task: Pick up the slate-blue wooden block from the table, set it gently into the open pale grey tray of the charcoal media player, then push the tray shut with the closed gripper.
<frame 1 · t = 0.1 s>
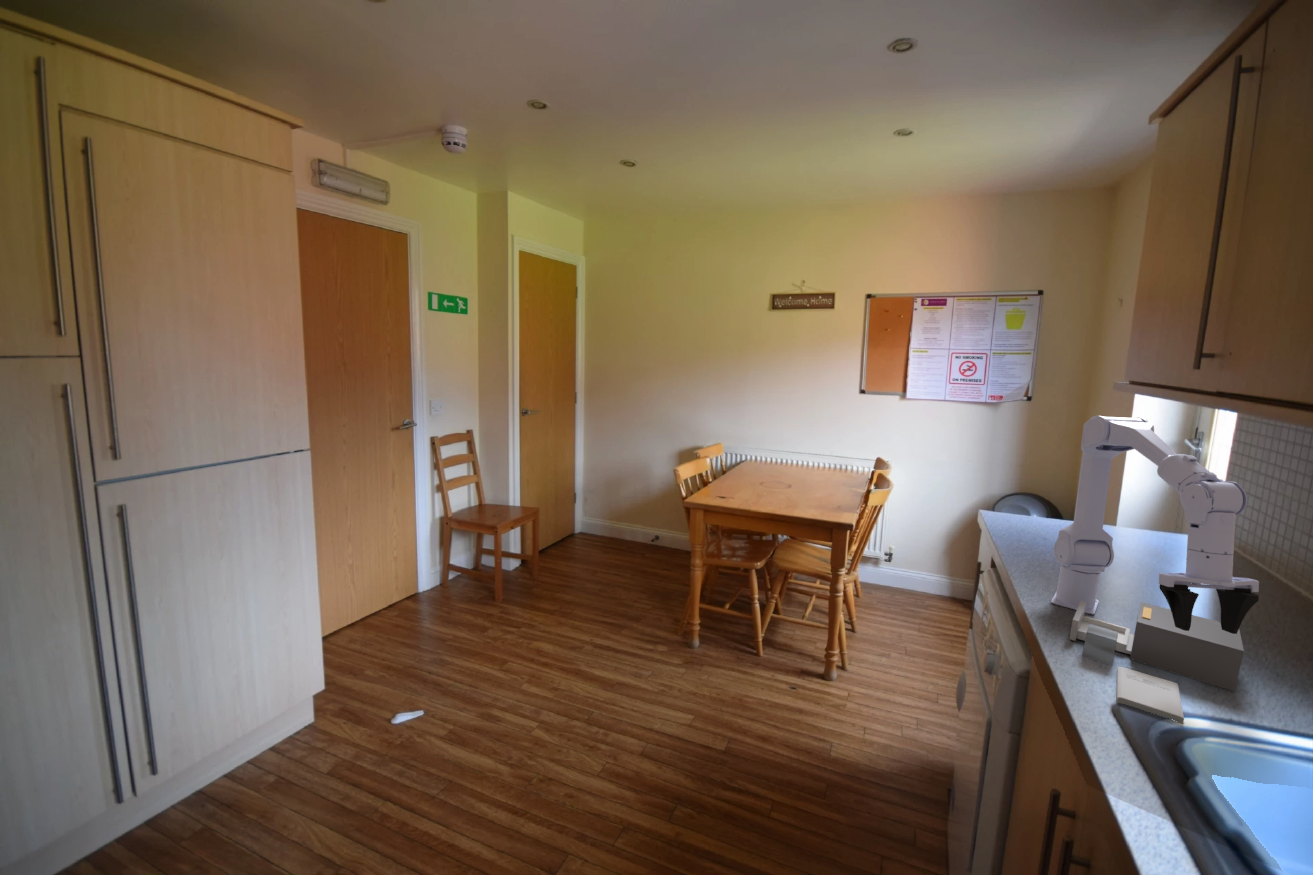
hand: (1205, 630, 97), 10 cm above the worktop, tool pointing down, fingers open, 7 cm apart
block: (1098, 656, 108), on the worktop
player: (1180, 661, 106), on the worktop
external hard drive: (1146, 698, 96), on the worktop
tray: (1117, 631, 112), point 2 cm above the worktop, slide at 8.0 cm
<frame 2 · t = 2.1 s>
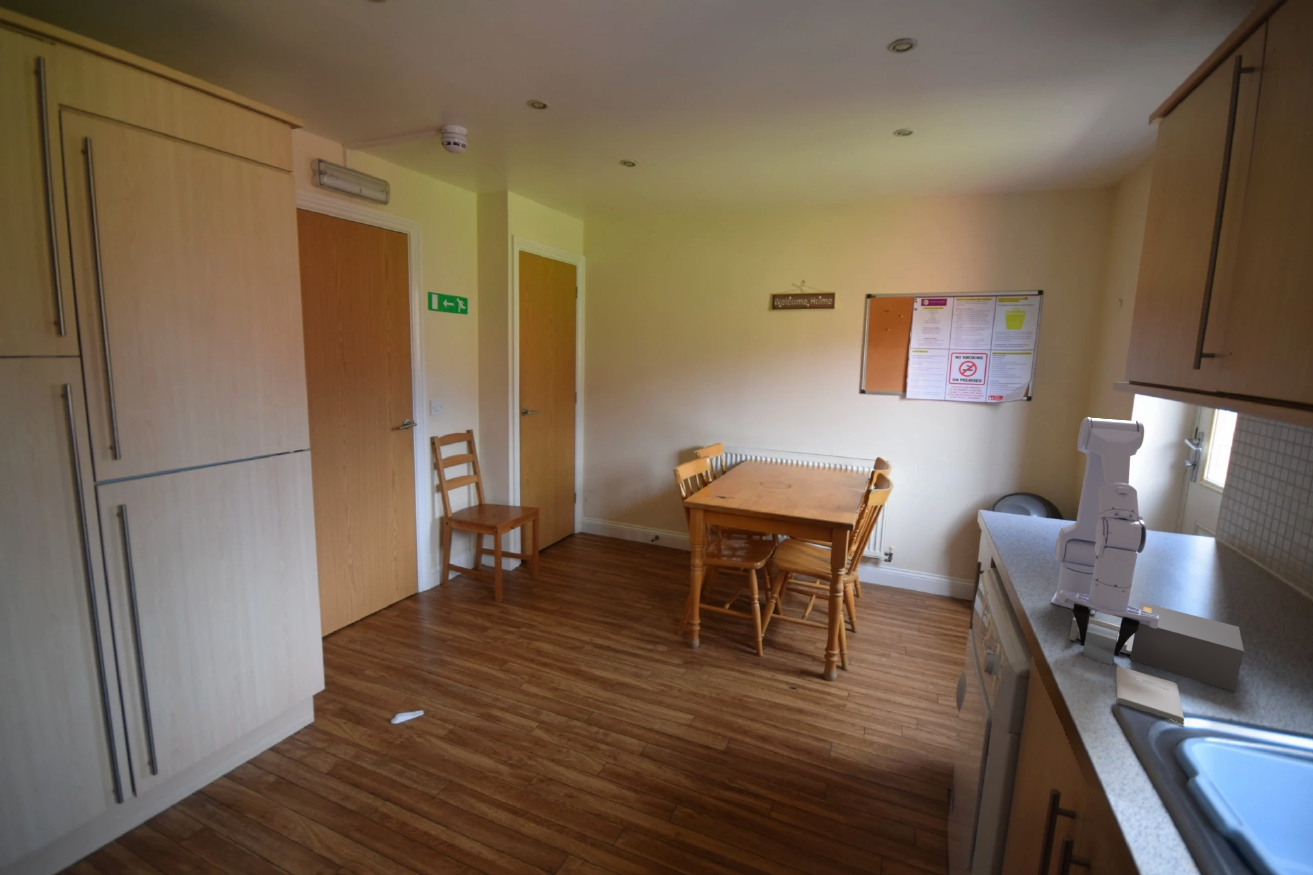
hand: (1099, 648, 107), 1 cm above the worktop, tool pointing down, fingers closed on block, 4 cm apart
block: (1098, 655, 108), on the worktop, touching gripper
everything else where it was.
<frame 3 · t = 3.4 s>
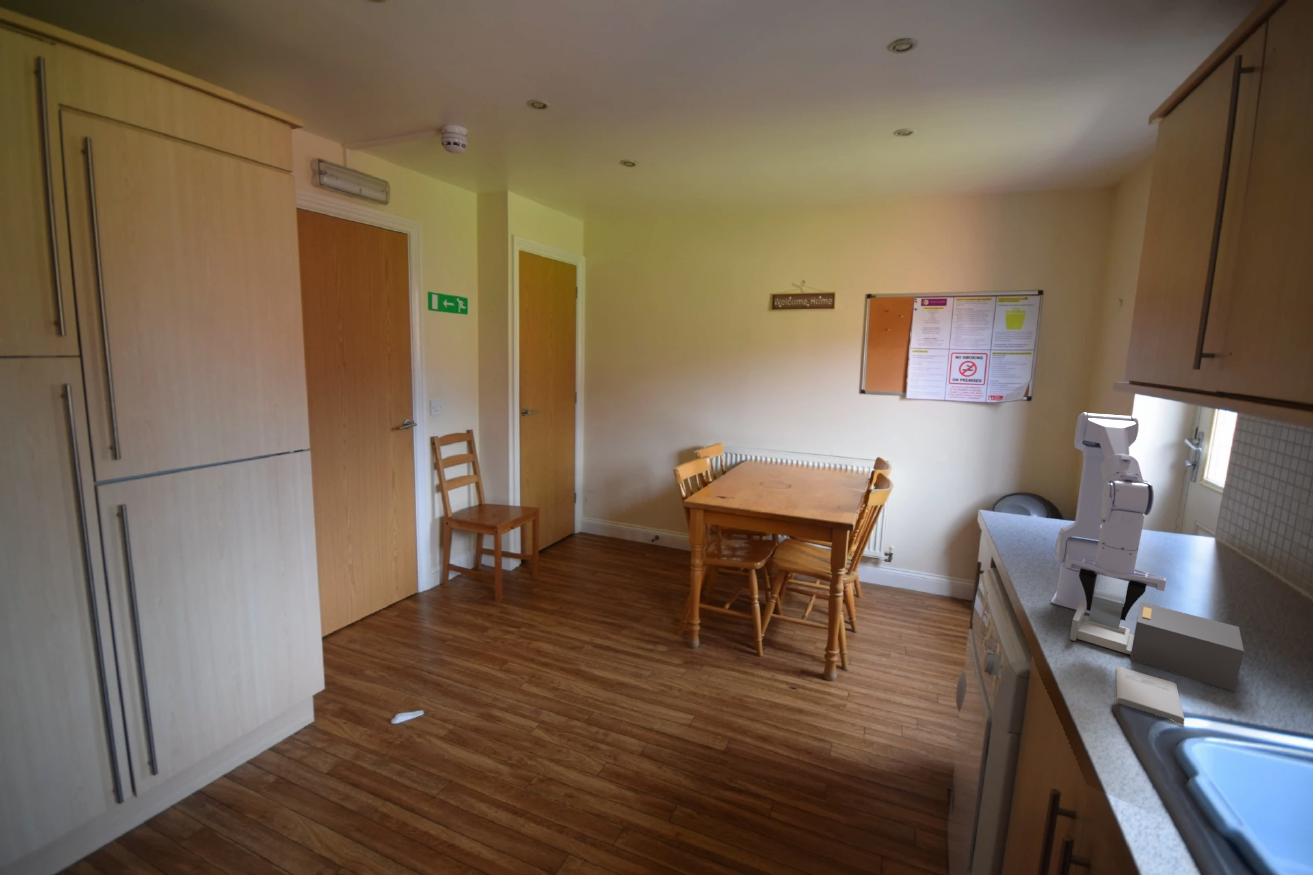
hand: (1105, 613, 107), 8 cm above the worktop, tool pointing down, fingers closed on block, 4 cm apart
block: (1104, 620, 107), point 7 cm above the worktop, touching gripper
everything else where it was.
when the fingers open (4 cm above the worktop, at t = 5.1 s): block drops 2 cm, resting on tray.
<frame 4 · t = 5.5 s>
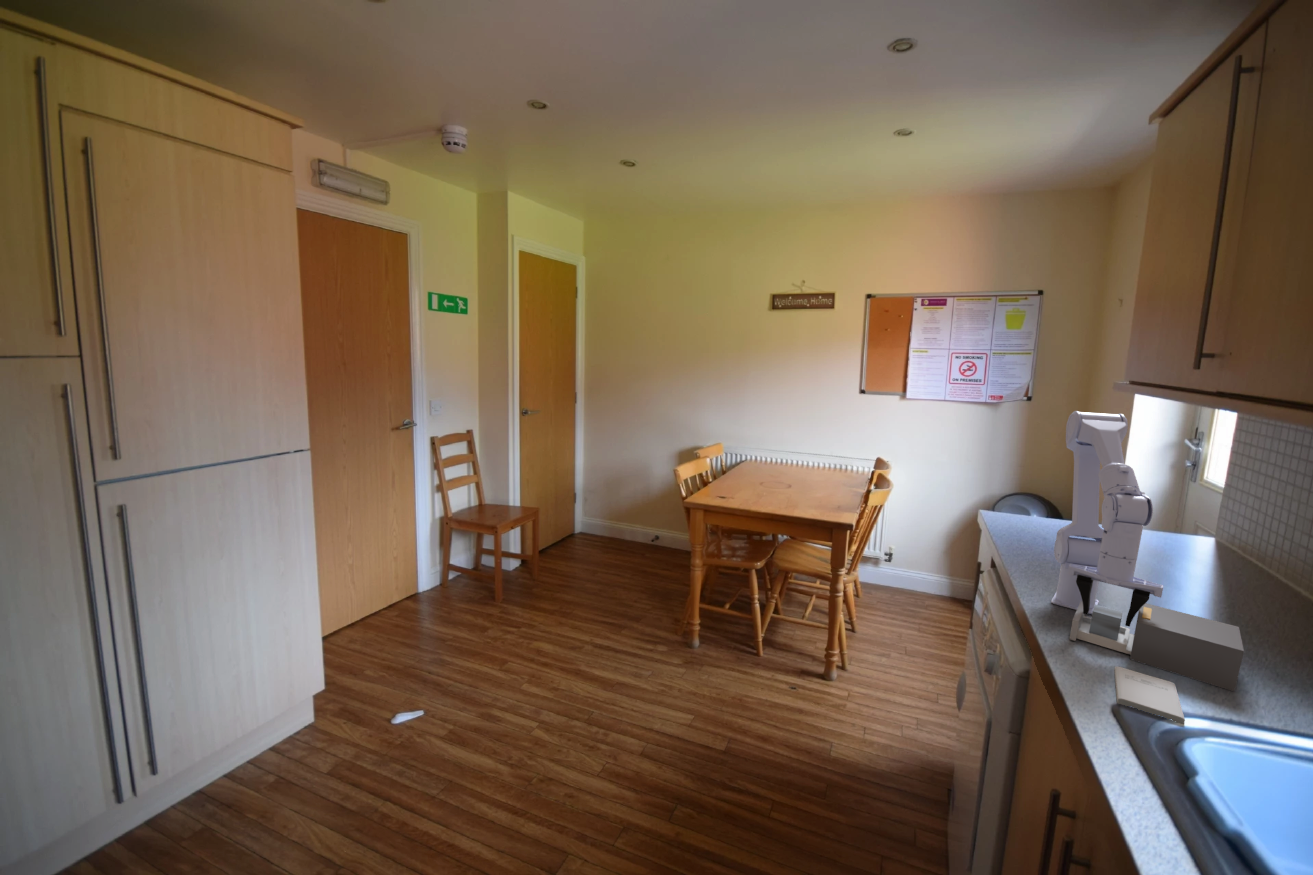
hand: (1106, 618, 113), 4 cm above the worktop, tool pointing down, fingers open, 6 cm apart
block: (1103, 634, 114), point 1 cm above the worktop, touching tray
tray: (1117, 631, 112), point 2 cm above the worktop, slide at 8.0 cm, touching block
everything else where it was.
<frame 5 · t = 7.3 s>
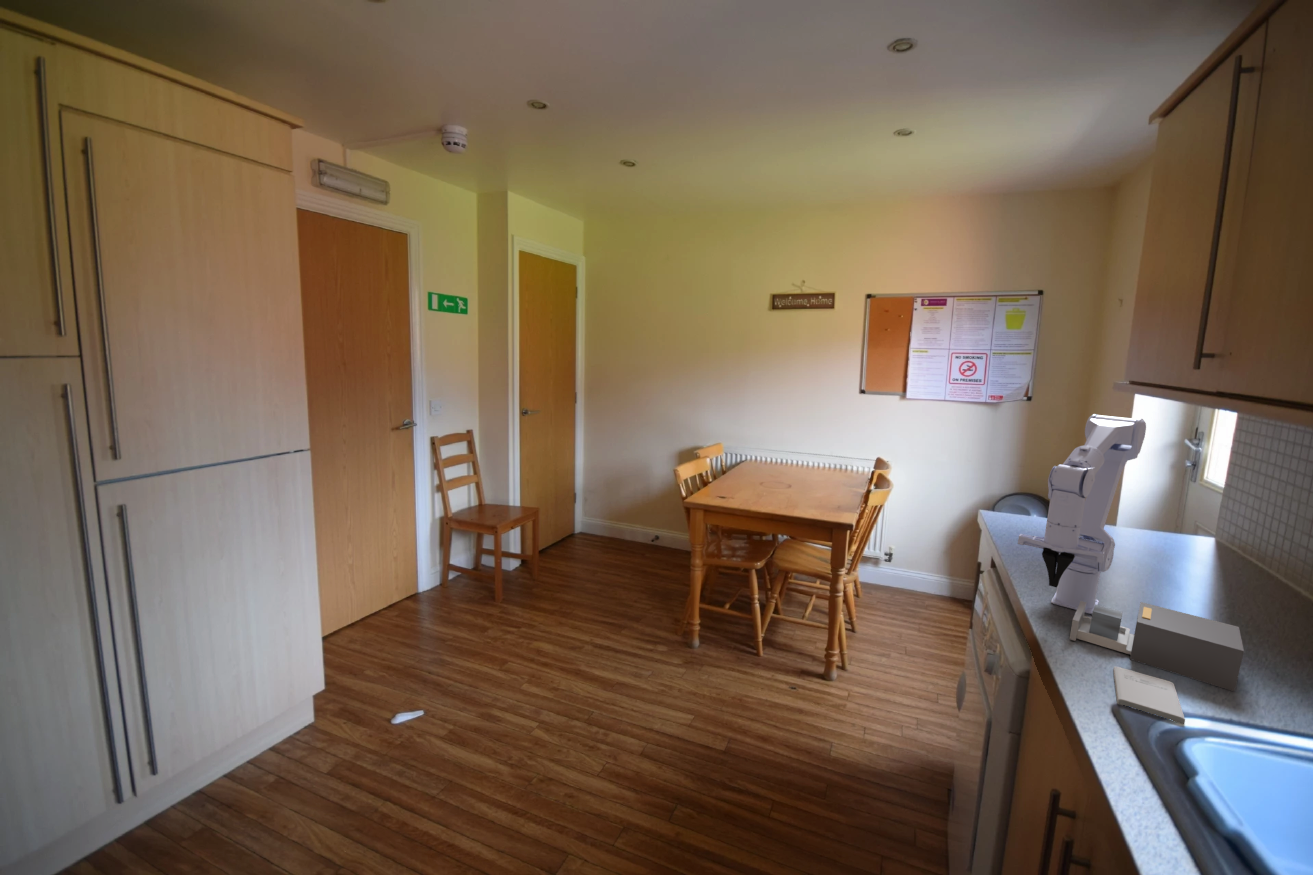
hand: (1053, 585, 119), 8 cm above the worktop, tool pointing down, fingers closed
nothing on the worktop moved.
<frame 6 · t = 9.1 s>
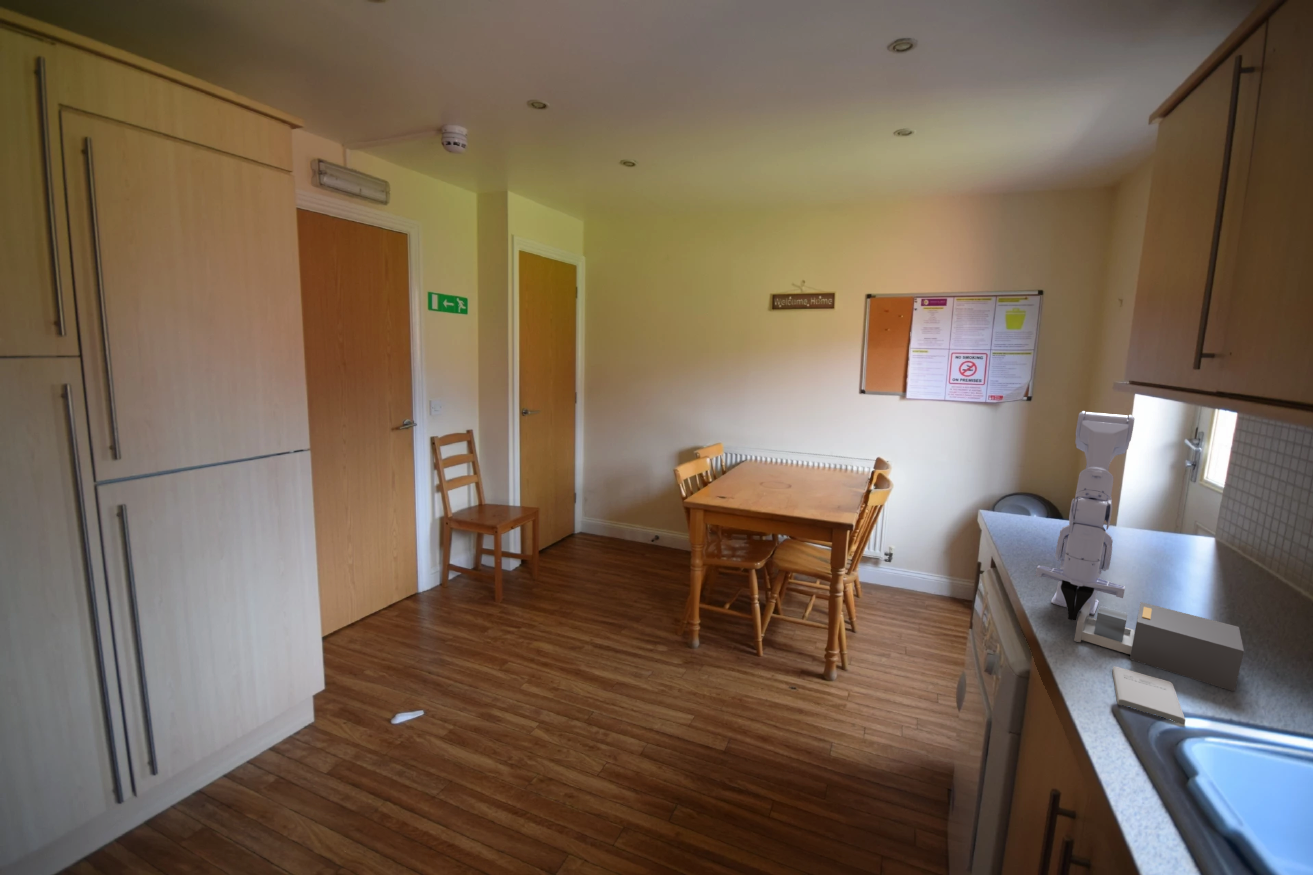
hand: (1072, 618, 117), 2 cm above the worktop, tool pointing down, fingers closed
tray: (1122, 632, 112), point 2 cm above the worktop, slide at 7.2 cm, touching block, gripper
everything else where it was.
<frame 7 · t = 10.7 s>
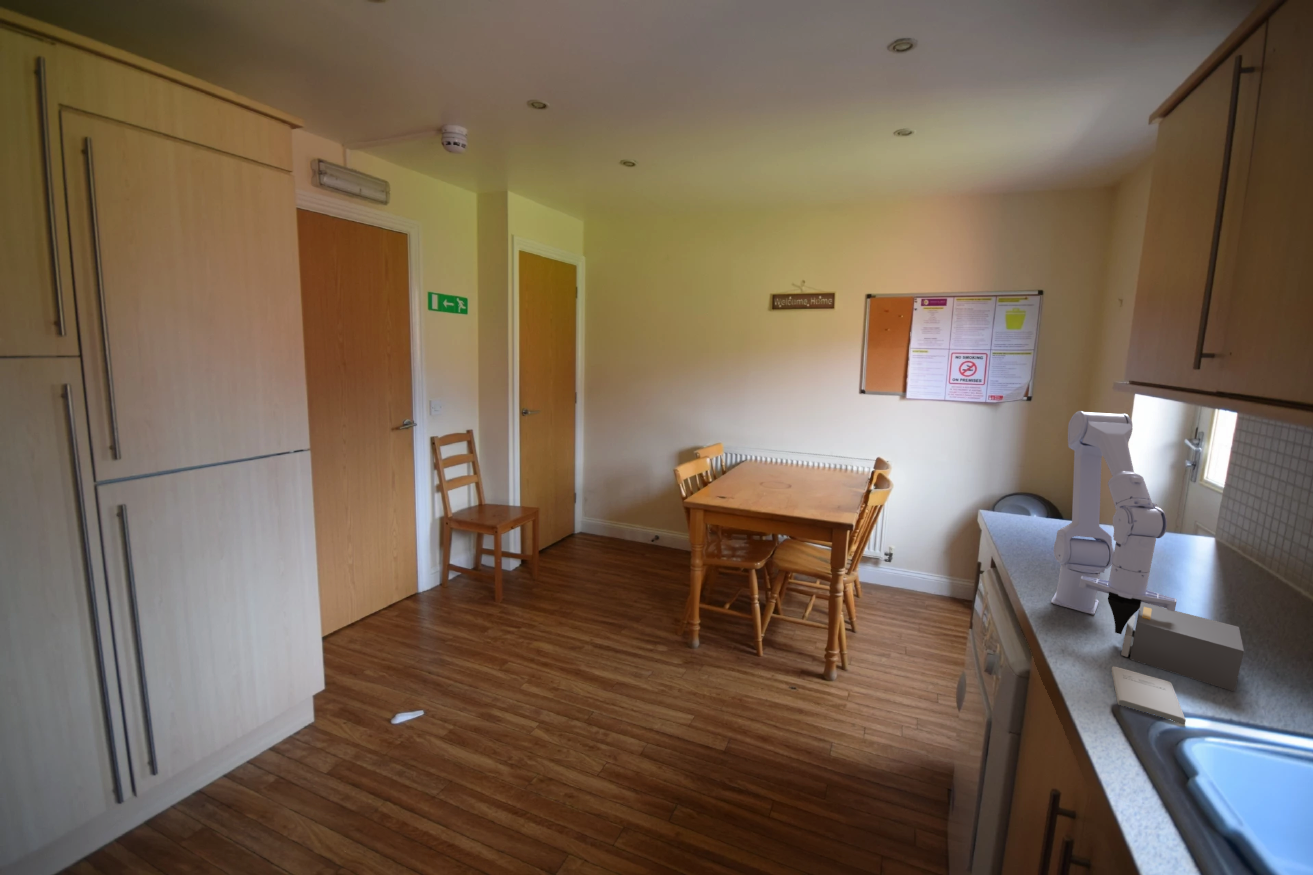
hand: (1118, 631, 112), 2 cm above the worktop, tool pointing down, fingers closed
block: (1156, 650, 108), point 1 cm above the worktop, touching tray
tray: (1171, 646, 107), point 2 cm above the worktop, slide at -0.1 cm, touching block, gripper
everything else where it was.
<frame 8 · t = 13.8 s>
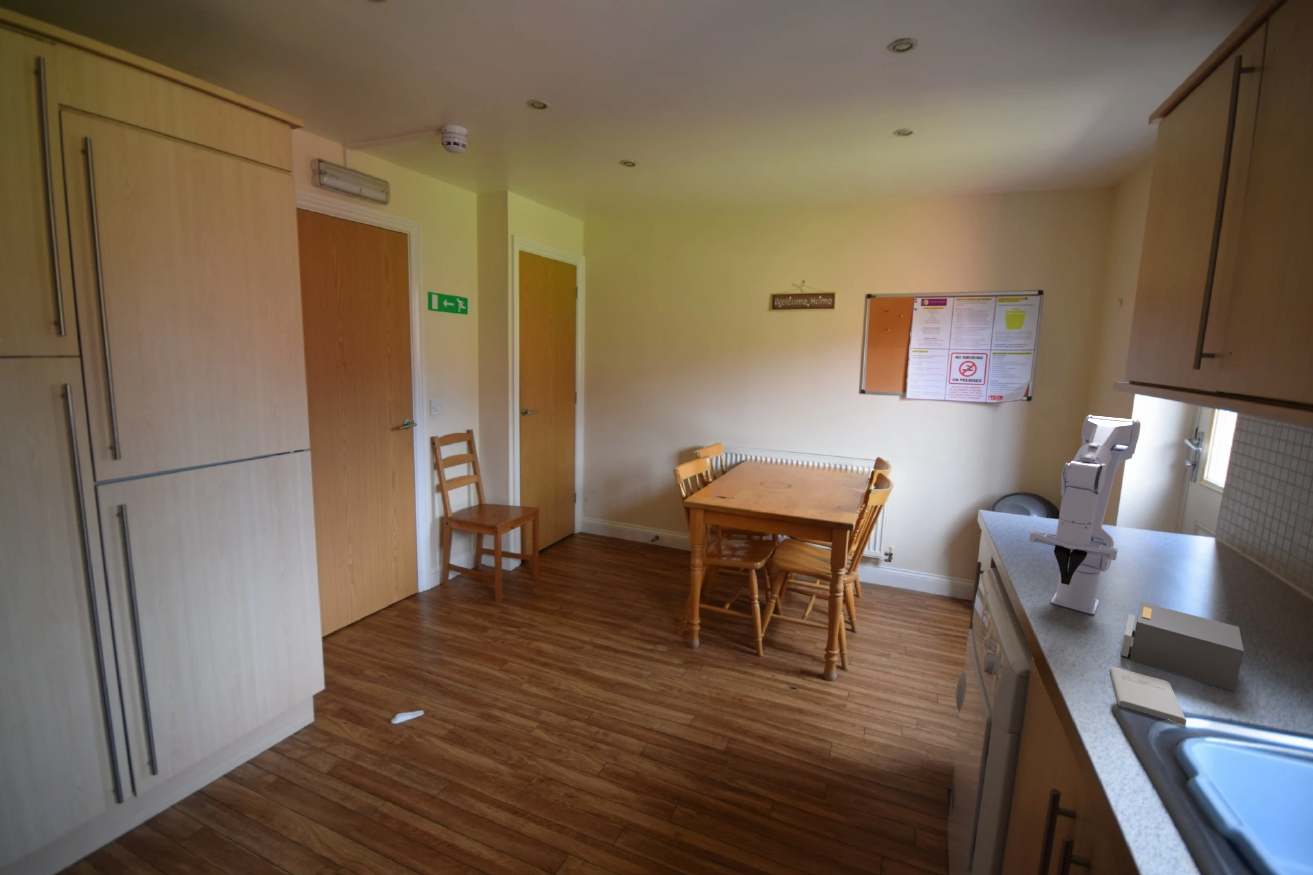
hand: (1065, 582, 118), 9 cm above the worktop, tool pointing down, fingers closed
tray: (1171, 646, 107), point 2 cm above the worktop, slide at 0.0 cm, touching block
everything else where it was.
at the end: tray slide at 0.0 cm; block inside the target area (3.5 cm from its centre), point 1.0 cm above the worktop; block tilted 0° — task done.
